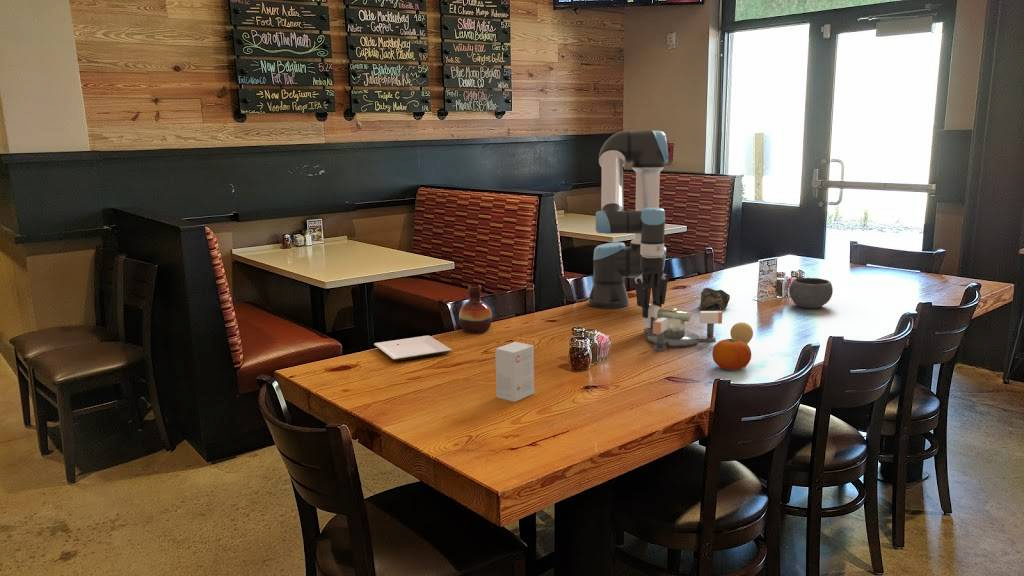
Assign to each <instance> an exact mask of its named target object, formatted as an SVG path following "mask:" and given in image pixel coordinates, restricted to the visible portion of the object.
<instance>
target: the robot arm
mask: <svg viewBox="0 0 1024 576" xmlns="http://www.w3.org/2000/svg"><path fill="white" fill-rule="evenodd" d="M668 147H669V146H668V142H667V136H666V133H665V132H664V131H662V130H653V129H651V130H622V131H618V132H616V133H614V134H612V135H611V136H610V137H609V138H608V139H606V140H605V142H604V143H603V145H602V146H601V148H600V151H599V153H598V154H599V155H598V164H599V166H600V167H601V190H600V191H601V193H600V194H601V196H600V197H601V205H600V206H601V208H600V209H601V210H598V211H596V212H595V232H596V233H598V234H607V235H609V234H634V238H633V239H632V240H631V241H630V246H626V244H625V243H624V242H622V241H621V242H620V241H619V242H618V241H617V242H607V243H603V244H602V243H601V244H599V245H597V246H596V247H594V250H593V258H592V260H593V284H592V286H591V287H592V288H591V291H590V293H589V296H588V305H589V306H591V307H593V308H597V309H599V308H600V309H621V308H625V307H626V308H627V307H628V306H629V305H630V303H629V301H630V299H629V295H628V292H627V289H626V286H625V278H629V279H630V278H632V279H633V282H634V286H635V295H636V296H635V297H636V305H637V307H641V314H642V318H643V327H644V328H646V329H647V328H651V308H649V303H650V301H651V300H652V304H653V305H656V306H660V308H662V305H664V304H665V302H666V296H667V295H666V294H667V288H668V282H669V280H670V275H669V274H666V273H664V269H665V265H666V264H665V263H666V260H667V259H666V257H667V247H666V246H665V232H666V231H665V228H666V227H665V225H666V212H665V209H664V208H662V207H660V185H661V184H660V183H661V181H660V179H661V178H660V176H661V175H660V174H661V172H662V171H663V170H664V168H665V164H667V163H669V148H668ZM626 164H631V169H632V170H633V171H634V172H635V210H624V167H625V165H626ZM651 297H652V299H651ZM650 304H651V303H650ZM658 319H659V318H658V317H656V318H654V321H656V320H658Z"/></svg>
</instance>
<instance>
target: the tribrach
mask: <svg viewBox="0 0 1024 576" xmlns="http://www.w3.org/2000/svg"><path fill="white" fill-rule="evenodd" d="M657 317H658V318H657V319H659V318H661V317H662V318H668V319H667V330H665V331H664V336H663V346H657V334H653V329H647V328H644V329H643V332H644V333H645V334H647V342H648V343H650V344H652V345H654V346H653V349H652V350H653V351H658V352H665V350H667V349H668V348H675V349H676V348H677V349H679V348H690V347H694V346H697V345H698V344H699V343H700V342H702V343H703V342H706V343H707V342H710V343H712V342H716V343H717V341H716V340H717V339H716V338H717V337H715V336H714V335H713V337H707V335H698V334H697V333H696V332H692V331H690V330H689V331H688V330H686V329H685V328H686V323H687V322H690V321H691V317H692V314H691V312H686V311H678V308H676V307H675V308H670V310H669V309H661V308H660V309H659V310H658V312H657Z"/></svg>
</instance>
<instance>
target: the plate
mask: <svg viewBox="0 0 1024 576" xmlns="http://www.w3.org/2000/svg"><path fill="white" fill-rule="evenodd" d="M397 344H399V345H397ZM373 345H374V346H375V347H376V348H377V349H379V350H380V351H382V352H383V353H384V354H385V355H386V356H388V357H389V358H390V359H392V360H393V361H398V362H399V361H407V360H412V359H419V358H426V357H431V356H437V355H443V354H446V353H449V352H452V350H453V349H451V347H449V346H447V345H445V344H443V343H442V342H441V341H439V340H437V339H435V338H434V337H432V336H431V335H422V336H414V337H409V338H408V337H407V338H401V339H395V340H394V339H393V340H387V341H381V342H375V343H373Z"/></svg>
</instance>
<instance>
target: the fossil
mask: <svg viewBox="0 0 1024 576" xmlns="http://www.w3.org/2000/svg"><path fill="white" fill-rule="evenodd" d="M730 300H731V296H730V294H728V293H727V292H726V291H724V290H723V289H718V290H717V289H713V288H710V287H704V288H703V289H702V291H701V292H700V304H699V308H700V309H701V310H705V309H707V308H708V307H710V306H714V305H715V306H716V307H719V310H720V311H722V312H724V311H726V309H727V307H728V305H729V303H730Z"/></svg>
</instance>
